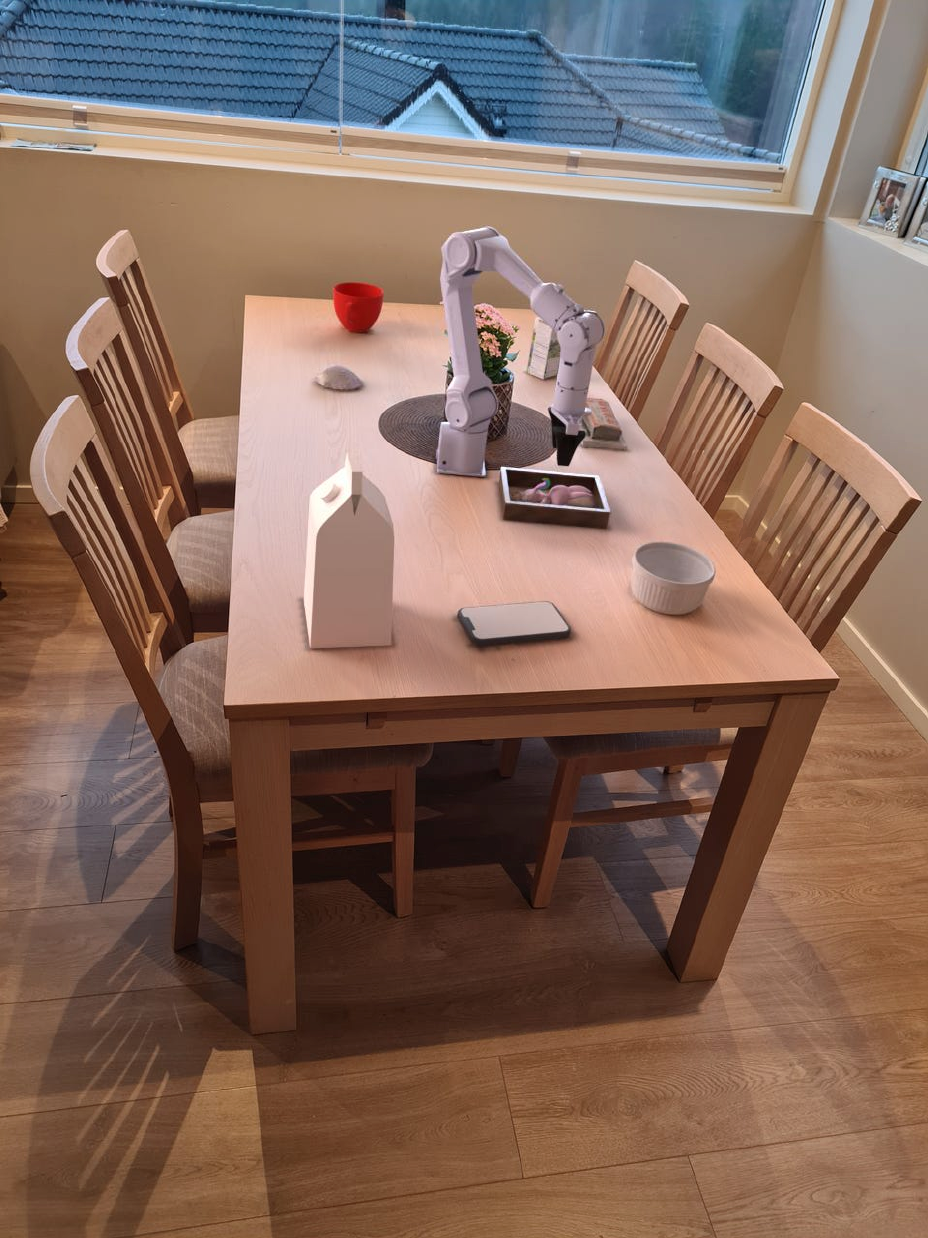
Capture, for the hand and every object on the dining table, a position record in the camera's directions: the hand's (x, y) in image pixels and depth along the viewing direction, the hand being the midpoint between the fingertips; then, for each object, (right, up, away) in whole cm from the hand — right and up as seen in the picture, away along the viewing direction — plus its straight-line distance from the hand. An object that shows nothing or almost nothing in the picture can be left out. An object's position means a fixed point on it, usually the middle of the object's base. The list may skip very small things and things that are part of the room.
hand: (560, 456), depth 171 cm
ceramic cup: (-46, +46, +75) cm, 99 cm away
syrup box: (+2, +31, +64) cm, 71 cm away
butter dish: (+12, +12, +37) cm, 41 cm away
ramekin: (+15, -26, -17) cm, 35 cm away
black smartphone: (-10, -31, -29) cm, 44 cm away
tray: (-1, -8, +6) cm, 10 cm away
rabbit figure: (-1, -8, +6) cm, 10 cm away
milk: (-35, -30, -32) cm, 57 cm away
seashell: (-46, +26, +42) cm, 68 cm away
